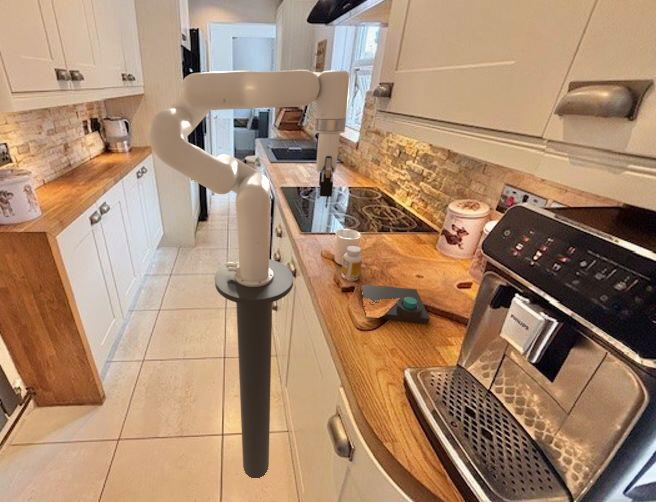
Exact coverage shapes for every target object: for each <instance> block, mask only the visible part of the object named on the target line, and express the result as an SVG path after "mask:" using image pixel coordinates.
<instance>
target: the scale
mask: <svg viewBox="0 0 656 502" xmlns="http://www.w3.org/2000/svg"><path fill="white" fill-rule="evenodd" d="M361 287H362V290H361ZM362 292H363V295H362ZM360 295H361V299H362V298H363V297H364V298H365V299H366V298H367V299H368V298H369V299H371V300H372V301H373V302H375V300H380V299H381V300H382V299H392V298H393V299H396V298H400V299H398V301H397V303H396V305H395V306H394V307H393V308H392V309H391V310H390V311H389V312H388V313H386V314H385V315H386V316H382V317H380V318H379V319H378V320H385V321H386V320H387V321H395V322H396V321H397V322H406V323H414V324H424V325H429V322H430V316H429V314H428V312H427V310H426V307H425V305H424V303H423V301H422V299H421V297H420V295H419V292H418V289H416V288H406V287H396V286H385V285H384V286H383V285H375V284H373V285H372V284H360ZM406 297H412V298H414V299H416V300H417V305H416V308H415V309H408V308H405V307H404V306H403V302H404V298H406ZM373 302H372V303H373ZM369 303H370V302H369ZM375 303H379V302H377V301H376V302H375ZM370 304H371V303H370ZM371 305H374V304H371ZM364 307H365V306H363V308H364ZM363 311H364V312H365V310H364V309H363Z"/></svg>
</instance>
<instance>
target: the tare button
mask: <svg viewBox="0 0 656 502" xmlns="http://www.w3.org/2000/svg"><path fill="white" fill-rule="evenodd" d="M416 305H417V300H416V299H414V298H412V297H406V298H404V302H403V306H404V307H405V308H408V309H415V308H416Z"/></svg>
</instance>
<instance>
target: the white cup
mask: <svg viewBox="0 0 656 502" xmlns="http://www.w3.org/2000/svg"><path fill="white" fill-rule="evenodd" d="M361 237H362V234H361V233H360V232H359V231H357V230H354V229H352V228H351V229H350V228H340V229H338V230H336V231H335V238H334V258H333V259H334V262H335V263H336V264H338V265H341V266H342V263H343V256H344V254H345V253H347V252H346V251H347V247H349V246H356V247H359V248H360V242H361Z"/></svg>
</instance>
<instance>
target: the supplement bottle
mask: <svg viewBox="0 0 656 502" xmlns="http://www.w3.org/2000/svg"><path fill="white" fill-rule="evenodd" d="M346 252H347V253H345V254H344V256H343V263H342V265H341V271H342V273H343V274H344V275H345V276H347V277H350V278H354V279H350V278H346V277H345V278H346V279H347V280H346V281H349V282H353V281H357V280H358V279H359V278H360V273H361V266H362V260H363V258H362V257H363V256H362V255H361V253H362V249H361V248H360V246H359V247H356V246H349V247H347V251H346ZM358 276H359V277H358ZM357 277H358V278H357Z"/></svg>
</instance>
